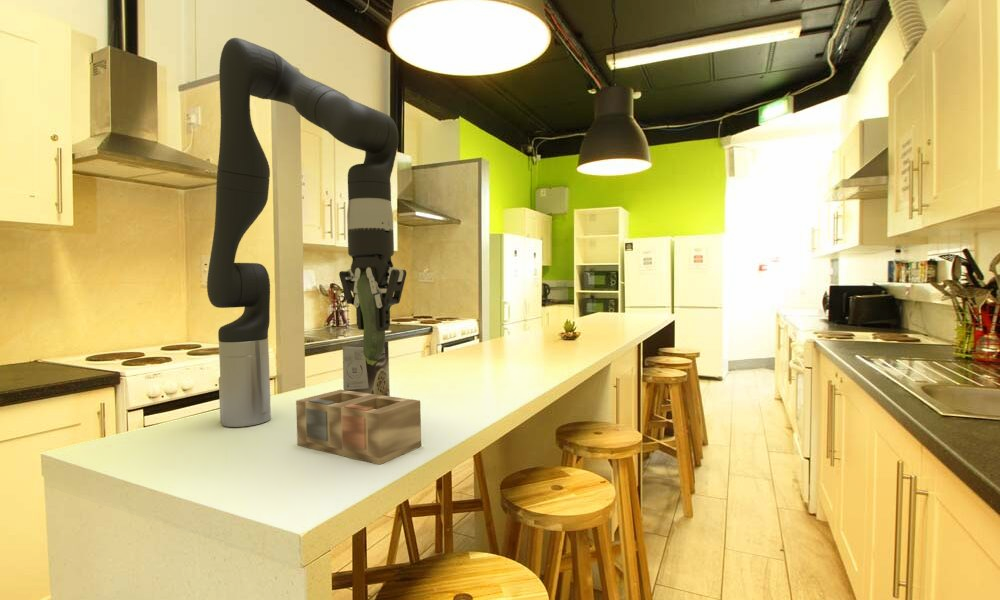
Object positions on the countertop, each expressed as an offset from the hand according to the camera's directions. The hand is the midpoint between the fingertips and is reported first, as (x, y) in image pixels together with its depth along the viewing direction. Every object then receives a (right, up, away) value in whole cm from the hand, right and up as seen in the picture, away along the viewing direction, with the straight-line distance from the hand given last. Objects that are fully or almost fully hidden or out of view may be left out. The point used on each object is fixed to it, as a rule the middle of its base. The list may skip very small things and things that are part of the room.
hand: (373, 329), depth 86 cm
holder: (-3, -21, +3) cm, 21 cm away
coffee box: (-6, -20, +20) cm, 29 cm away
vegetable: (0, -6, 0) cm, 6 cm away
